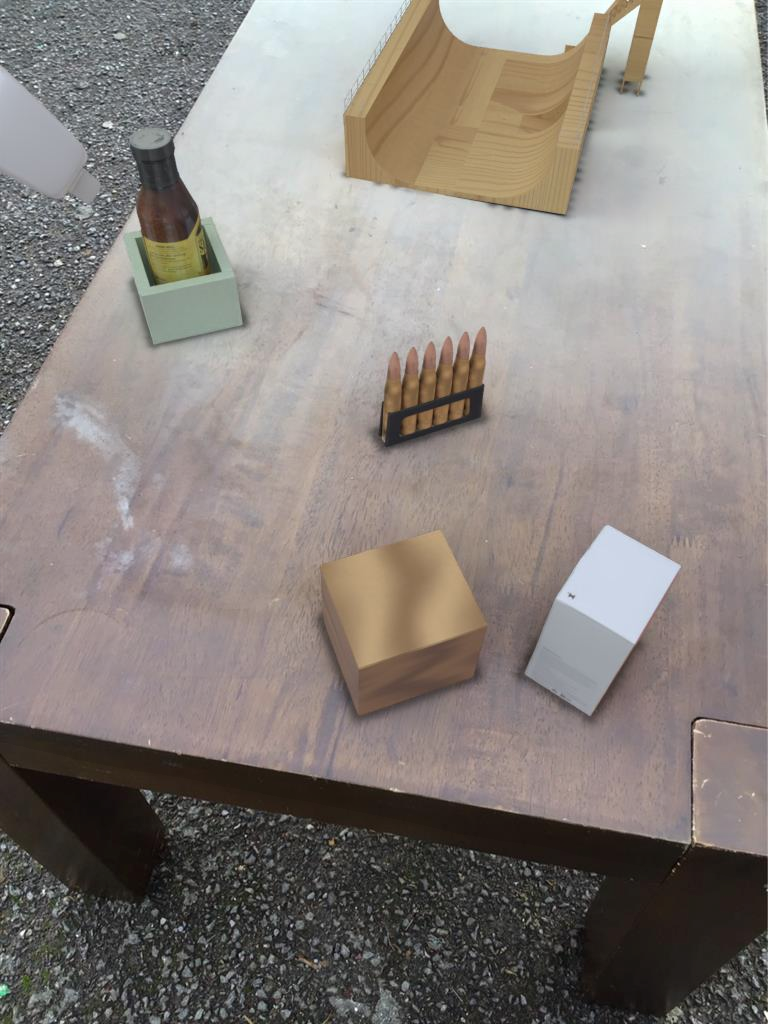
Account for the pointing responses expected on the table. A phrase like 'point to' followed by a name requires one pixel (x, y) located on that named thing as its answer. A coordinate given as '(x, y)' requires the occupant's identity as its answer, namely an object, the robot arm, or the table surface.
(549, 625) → the small box
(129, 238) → the holder
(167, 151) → the sauce bottle
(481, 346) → the ammunition clip
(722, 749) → the table surface
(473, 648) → the wooden stand
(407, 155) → the skate ramp
